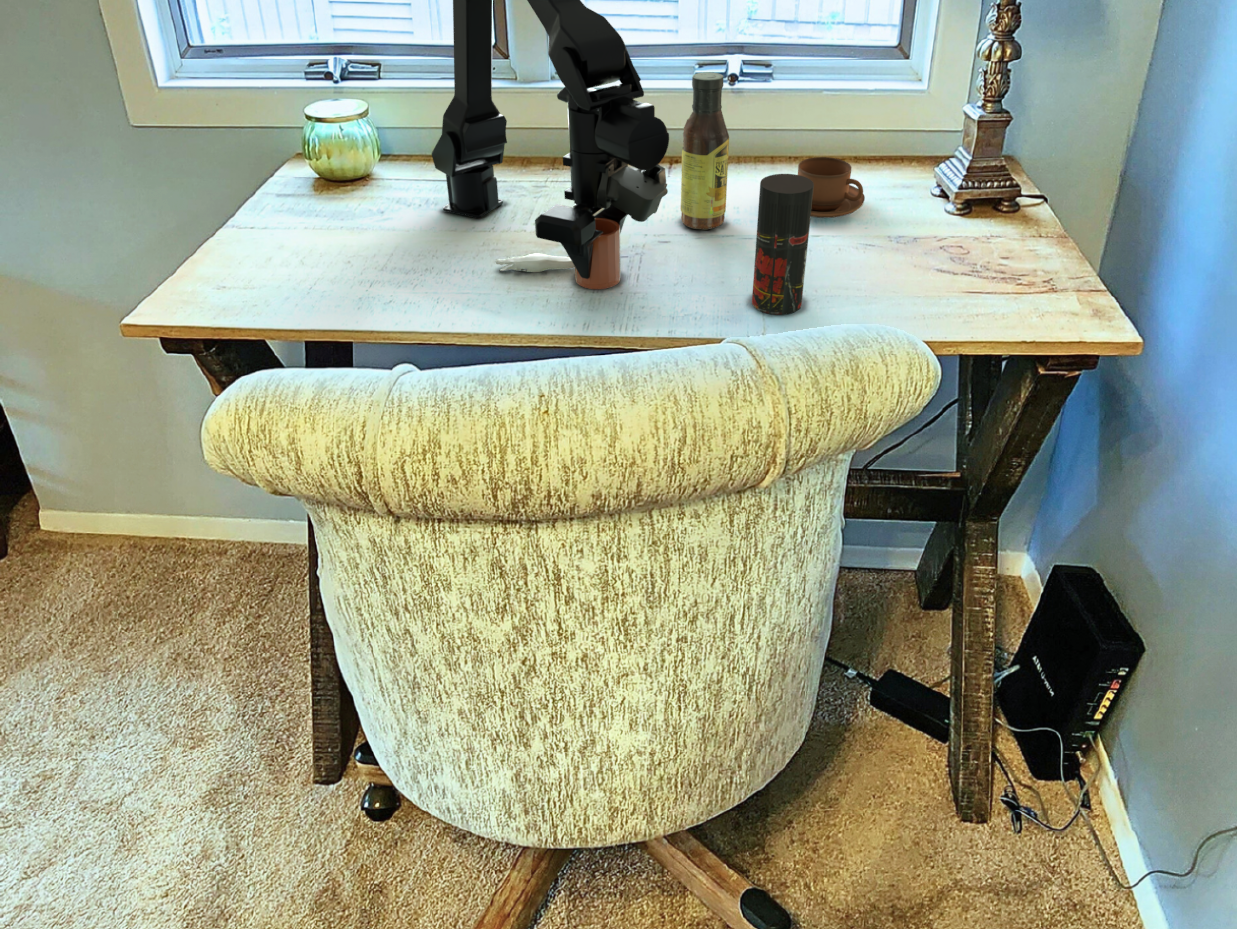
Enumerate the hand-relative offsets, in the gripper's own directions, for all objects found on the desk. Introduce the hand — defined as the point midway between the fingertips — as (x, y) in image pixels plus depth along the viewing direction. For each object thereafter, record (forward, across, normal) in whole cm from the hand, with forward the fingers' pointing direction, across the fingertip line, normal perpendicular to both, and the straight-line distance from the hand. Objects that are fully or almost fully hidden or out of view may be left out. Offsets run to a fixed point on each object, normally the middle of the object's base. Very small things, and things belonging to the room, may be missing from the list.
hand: (597, 268), depth 128 cm
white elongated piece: (+2, 0, +6) cm, 7 cm away
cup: (+2, 0, 0) cm, 2 cm away
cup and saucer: (+2, +34, -18) cm, 38 cm away
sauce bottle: (+2, +22, -4) cm, 23 cm away
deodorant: (+2, +4, -23) cm, 23 cm away
